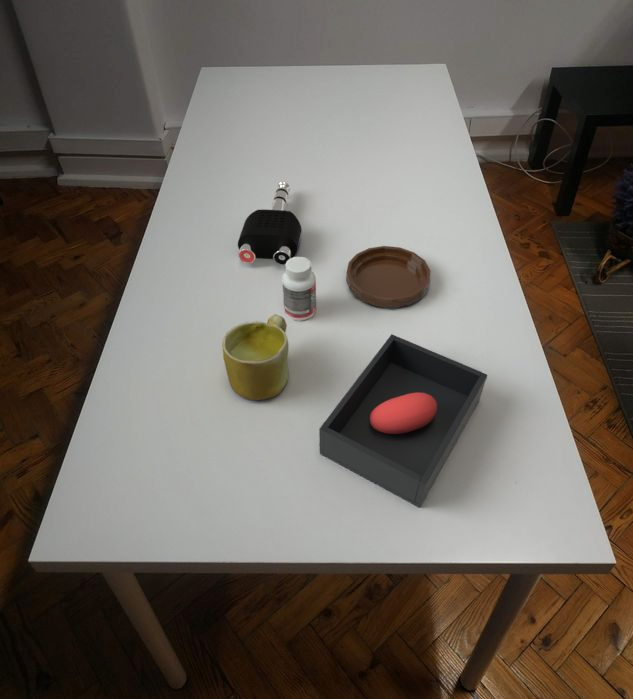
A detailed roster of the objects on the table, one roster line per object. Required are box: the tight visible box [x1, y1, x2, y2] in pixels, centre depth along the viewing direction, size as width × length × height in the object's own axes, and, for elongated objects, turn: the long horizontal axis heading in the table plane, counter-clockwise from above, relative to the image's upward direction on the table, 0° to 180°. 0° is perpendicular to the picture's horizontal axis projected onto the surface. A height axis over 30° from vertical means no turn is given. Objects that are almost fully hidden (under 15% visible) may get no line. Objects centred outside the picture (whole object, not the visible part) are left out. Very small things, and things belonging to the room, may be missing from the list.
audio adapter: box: [237, 181, 303, 266], centre depth 107 cm, size 11×5×25 cm
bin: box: [318, 333, 488, 509], centre depth 74 cm, size 15×20×6 cm
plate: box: [345, 245, 431, 309], centre depth 96 cm, size 14×14×2 cm
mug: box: [221, 313, 289, 401], centre depth 81 cm, size 12×10×10 cm
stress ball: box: [370, 392, 437, 434], centre depth 74 cm, size 5×9×6 cm, turn 98°
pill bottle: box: [281, 256, 317, 322], centre depth 89 cm, size 5×5×10 cm
